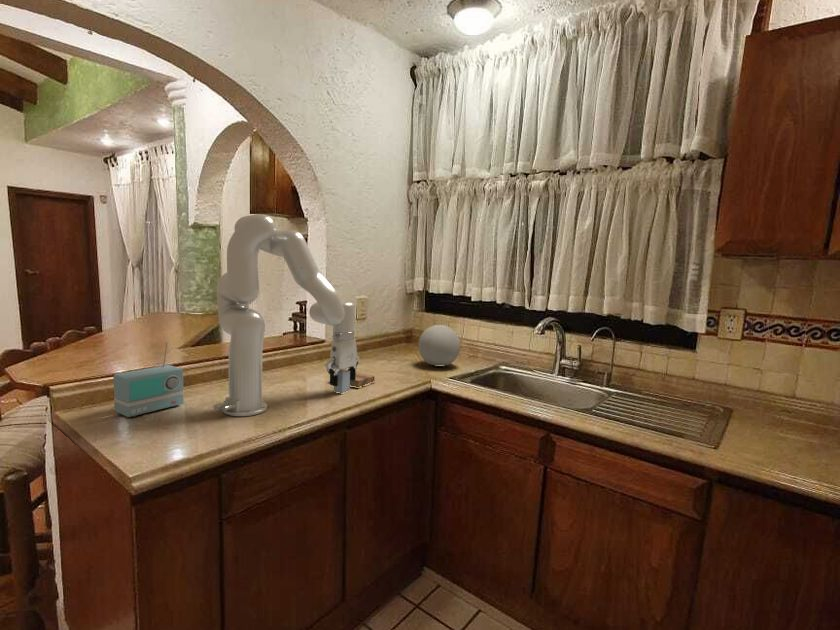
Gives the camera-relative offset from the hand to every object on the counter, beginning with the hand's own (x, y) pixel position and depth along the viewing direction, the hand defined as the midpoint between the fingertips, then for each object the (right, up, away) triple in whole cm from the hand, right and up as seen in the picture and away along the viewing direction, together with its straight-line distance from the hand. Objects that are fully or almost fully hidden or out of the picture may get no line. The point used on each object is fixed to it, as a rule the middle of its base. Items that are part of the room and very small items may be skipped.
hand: (342, 382), depth 155 cm
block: (-1, -4, 0) cm, 4 cm away
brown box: (+1, -2, +13) cm, 13 cm away
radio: (-53, -4, -27) cm, 59 cm away
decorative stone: (+37, 0, +49) cm, 61 cm away
